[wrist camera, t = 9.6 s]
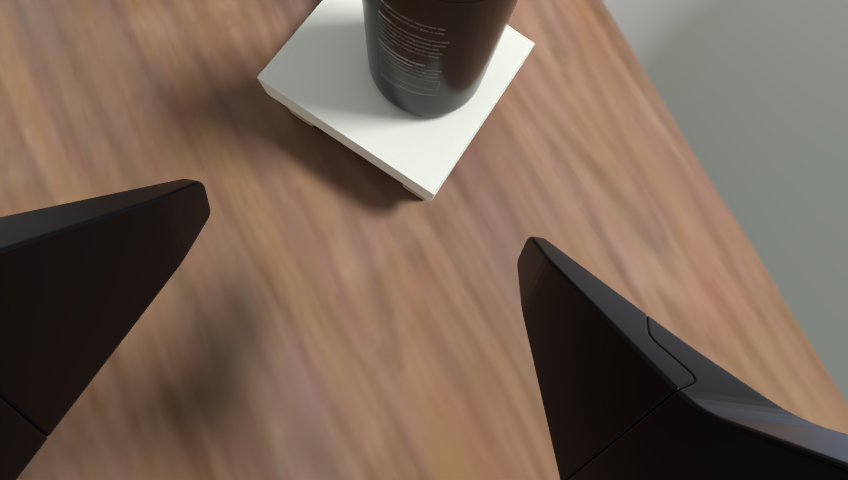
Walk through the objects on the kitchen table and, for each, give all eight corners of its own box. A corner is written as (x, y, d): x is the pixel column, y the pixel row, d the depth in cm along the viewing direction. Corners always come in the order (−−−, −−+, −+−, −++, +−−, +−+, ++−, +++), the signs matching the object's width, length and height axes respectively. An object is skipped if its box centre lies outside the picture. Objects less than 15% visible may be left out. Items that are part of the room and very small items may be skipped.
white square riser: (426, 210, 22) (434, 194, 18) (280, 114, 22) (256, 77, 18) (510, 82, 24) (534, 43, 20) (378, -7, 24) (376, -64, 20)
